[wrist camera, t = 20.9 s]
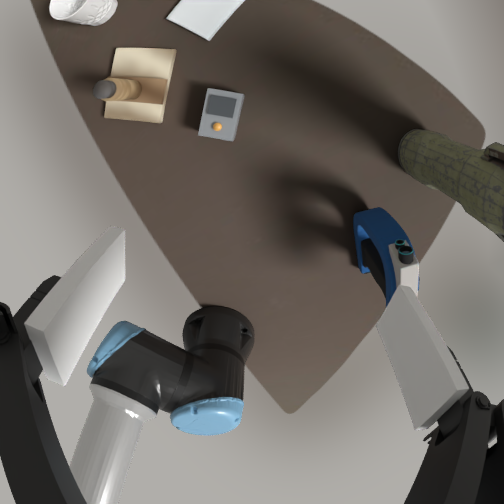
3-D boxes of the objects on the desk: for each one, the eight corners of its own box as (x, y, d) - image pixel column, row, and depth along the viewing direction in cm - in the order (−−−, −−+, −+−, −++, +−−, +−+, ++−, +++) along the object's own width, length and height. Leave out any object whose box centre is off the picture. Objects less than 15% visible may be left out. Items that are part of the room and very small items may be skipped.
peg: (140, 100, 37) (109, 102, 29) (121, 99, 37) (88, 101, 28) (143, 80, 36) (114, 77, 27) (125, 79, 36) (92, 77, 27)
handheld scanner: (357, 279, 54) (393, 353, 37) (346, 201, 47) (395, 260, 30) (379, 272, 54) (420, 343, 36) (371, 195, 46) (429, 249, 29)
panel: (162, 122, 41) (157, 123, 39) (107, 117, 40) (101, 118, 38) (176, 50, 36) (172, 48, 34) (119, 48, 35) (113, 47, 33)
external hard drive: (168, 20, 33) (216, -34, 28) (209, 42, 36) (258, -13, 31) (165, 18, 32) (214, -37, 27) (208, 40, 34) (258, -16, 29)
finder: (234, 138, 43) (232, 141, 39) (203, 132, 42) (197, 135, 38) (244, 95, 39) (243, 94, 36) (212, 89, 39) (207, 87, 35)
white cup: (124, 16, 32) (95, 2, 23) (84, 36, 33) (51, 29, 24) (118, -17, 28) (90, -35, 19) (79, 3, 29) (47, -8, 20)
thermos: (424, 111, 39) (603, 169, 8) (447, 170, 43) (594, 272, 12) (384, 133, 41) (563, 218, 10) (411, 192, 46) (550, 321, 15)
